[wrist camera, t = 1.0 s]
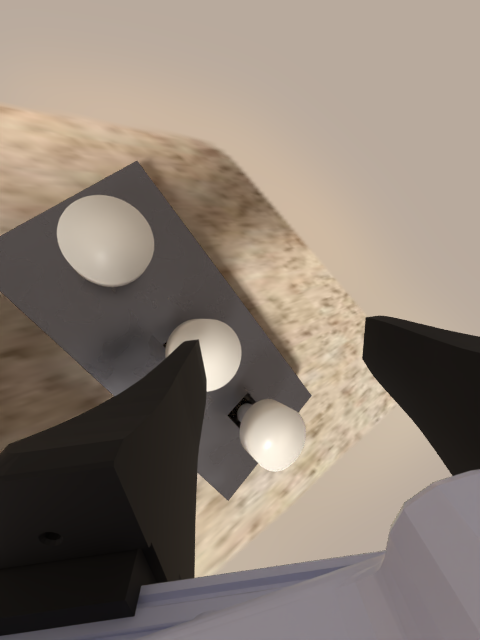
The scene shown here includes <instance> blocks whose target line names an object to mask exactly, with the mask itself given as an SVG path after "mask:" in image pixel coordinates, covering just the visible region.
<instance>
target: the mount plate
mask: <svg viewBox="0 0 480 640" xmlns="http://www.w3.org/2000/svg"><path fill="white" fill-rule="evenodd" d="M92 195H107V196H112V197H115V198H118V199H121V200H123V201H125V202H127V203H129V204H130V205H132V206H133V207H135V208H136V209H137V210H138V211H139V212H140V213H141V214H142V215H143V216H144V218H145V219H146V220H147V222H148V224H149V226H150V228H151V230H152V233H153V237H154V252H153V256H152V259H151V261H150V263H149V265H148V266H147V268H146V269H145V270H144V272H143V273H142V274H141V276H140V277H139V278H137V279H136V280H135V281H133V282H131V283H129V284H127V285H123V286H118V287H106V286H100V285H97V284H94V283H92V282H90V281H88V280H86V279H85V278H83V277H82V276H81V275H80V274H78V273H77V272H76V271H75V269H74V268H73V267H72V266H71V265H70V264H69V262H68V261H67V260H66V259H65V257H64V255H63V254H62V252H61V250H60V247H59V244H58V240H57V226H58V222H59V219H60V217H61V215H62V213H63V212H64V210H65V209H66V208H67V207H68V206H69V205H70V204H72V203H73V202H75V201H76V200H78V199H80V198H83V197H86V196H92ZM0 291H1V292H2V293H3V294H4V295H5V296H6V297H7V298H8V299H9V300H10V301H11V302H13V303H14V304H15V305H16V306H17V307H18V308H19V309H20V310H21V311H22V312H23V313H25V314H26V315H27V316H28V317H29V318H30V319H31V320H32V321H33V322H34V323H35V324H36V325H38V326H39V327H40V328H41V329H42V330H43V331H44V332H45V333H46V334H47V335H48V336H50V337H51V338H52V339H53V340H54V341H55V342H56V343H57V344H58V345H59V346H60V347H61V348H63V349H64V350H65V351H66V352H67V353H68V354H69V355H70V356H71V357H72V358H73V359H75V360H76V361H77V362H78V363H79V364H80V365H81V366H82V367H83V368H84V369H85V370H86V371H88V372H89V373H90V374H91V375H92V376H93V377H94V378H95V379H96V380H97V381H98V382H100V383H101V384H102V385H103V386H104V387H105V388H106V389H107V390H108V391H109V392H110V393H112V394H113V395H114V396H116V395H118V394H120V393H121V392H123V391H124V390H126V389H127V388H129V387H130V386H132V385H133V384H135V383H136V382H137V381H139V380H140V379H142V378H143V377H144V376H145V375H147V374H148V373H149V372H150V371H151V370H153V369H154V368H155V367H156V366H157V365H159V364H160V363H161V362H162V361H163V360H164V359H165V358H166V357H165V347H164V346H163V344H164V343H166V342H167V341H168V338H169V336H170V335H171V333H172V332H173V330H174V329H175V328H176V327H177V326H179V325H180V324H182V323H183V322H185V321H188V320H191V319H214V320H218V321H221V322H224V323H225V324H227V325H228V326H230V327H231V328H232V329H233V330H234V332H235V333H236V335H237V337H238V339H239V341H240V345H241V361H240V365H239V368H238V370H237V372H236V374H235V375H234V377H233V378H232V379H231V380H230V381H229V382H228V383H227V384H226V385H224V386H223V387H221V388H219V389H216V390H213V391H208V392H207V394H206V405H205V412H204V419H203V425H202V432H201V438H200V445H199V453H198V467H197V473H199V474H200V475H201V476H202V477H203V478H204V479H205V480H206V481H207V482H208V483H209V484H210V485H212V486H213V487H214V488H215V489H216V490H217V491H218V492H219V493H220V494H221V495H222V496H224V497H225V498H226V499H227V500H229V499H230V498H231V497H232V495H233V494H234V493H235V492H236V490H237V489H238V488H239V487H240V485H241V484H242V483H243V482H244V480H245V479H246V478H247V476H248V475H249V474H250V473H251V471H252V470H253V469H254V468H255V466H256V465H257V464H258V462H257V461H256V460H255V459H254V458H253V457H252V456H251V455H250V454H249V453H248V452H247V451H246V450H245V449H244V447H243V446H242V444H241V441H240V434H239V433H240V425H241V422H240V421H239V420H238V418H237V413H236V415H235V416H234V417H233V418H232V419H230V418H229V417H228V416H227V415H228V414H229V413H230V412H231V411H232V410H233V408H234V407H235V406H236V405H237V404H238V403H239V402H240V401H241V400H242V399H243V397H245V399H246V400H247V402H246V403H249V404H251V405H253V404H255V403H256V402H258V401H260V400H263V399H273V400H276V401H278V402H280V403H282V404H284V405H286V406H287V407H289V408H291V409H293V410H295V411H296V412H299V411H300V410H301V408H302V407H303V406H304V405H305V403H306V402H307V401H308V399H309V398H310V397H311V394H310V393H309V392H308V390H307V389H306V388H305V386H304V385H303V384H302V382H301V381H300V380H299V378H298V377H297V375H296V374H295V373H294V371H293V370H292V369H291V367H290V366H289V365H288V363H287V362H286V361H285V359H284V358H283V357H282V355H281V354H280V353H279V351H278V350H277V349H276V347H275V346H274V344H273V343H272V342H271V340H270V339H269V338H268V336H267V335H266V334H265V332H264V331H263V330H262V328H261V327H260V326H259V324H258V323H257V322H256V320H255V319H254V318H253V316H252V315H251V313H250V312H249V311H248V309H247V308H246V307H245V305H244V304H243V303H242V301H241V300H240V299H239V297H238V296H237V295H236V293H235V292H234V291H233V289H232V288H231V287H230V285H229V284H228V282H227V281H226V280H225V278H224V277H223V276H222V274H221V273H220V272H219V270H218V269H217V268H216V266H215V265H214V264H213V262H212V261H211V260H210V258H209V257H208V256H207V254H206V253H205V252H204V250H203V249H202V247H201V246H200V245H199V243H198V242H197V241H196V239H195V238H194V237H193V235H192V234H191V233H190V231H189V230H188V229H187V227H186V226H185V225H184V223H183V222H182V221H181V219H180V218H179V216H178V215H177V214H176V212H175V211H174V210H173V208H172V207H171V206H170V204H169V203H168V202H167V200H166V199H165V198H164V196H163V195H162V194H161V192H160V191H159V190H158V188H157V187H156V185H155V184H154V183H153V181H152V180H151V179H150V177H149V176H148V175H147V173H146V172H145V171H144V169H143V168H142V167H141V165H140V164H139V163H138V161H135V162H134V163H132V164H130V165H128V166H126V167H125V168H123V169H121V170H119V171H117V172H115V173H114V174H112V175H110V176H108V177H106V178H105V179H103V180H101V181H99V182H97V183H96V184H94V185H92V186H90V187H88V188H86V189H85V190H83V191H81V192H79V193H77V194H76V195H74V196H72V197H70V198H68V199H67V200H65V201H63V202H61V203H59V204H58V205H56V206H54V207H52V208H50V209H48V210H47V211H45V212H43V213H41V214H39V215H38V216H36V217H34V218H32V219H30V220H29V221H27V222H25V223H23V224H21V225H19V226H18V227H16V228H14V229H12V230H10V231H9V232H7V233H5V234H3V235H1V236H0Z"/></svg>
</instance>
